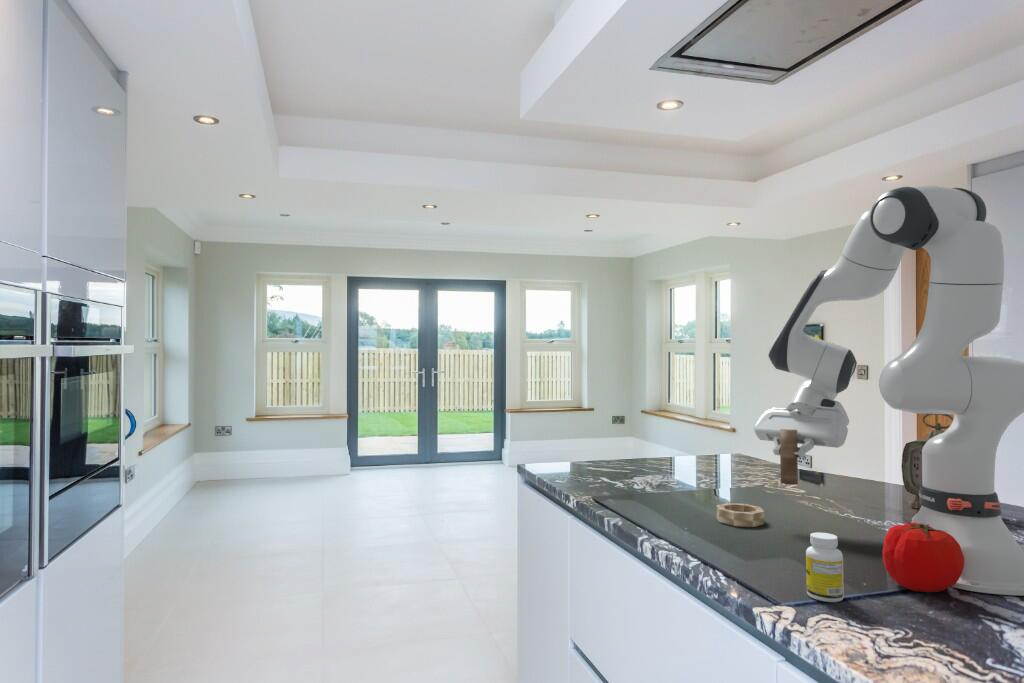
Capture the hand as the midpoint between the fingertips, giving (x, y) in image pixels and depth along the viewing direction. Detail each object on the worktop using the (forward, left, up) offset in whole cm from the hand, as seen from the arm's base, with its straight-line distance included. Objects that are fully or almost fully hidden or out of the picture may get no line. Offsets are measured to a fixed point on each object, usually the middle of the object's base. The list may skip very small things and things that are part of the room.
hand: (787, 454), depth 143 cm
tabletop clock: (+28, -42, -17) cm, 53 cm away
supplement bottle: (-42, +4, -17) cm, 46 cm away
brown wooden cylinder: (0, 0, -6) cm, 6 cm away
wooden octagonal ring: (+5, +10, -17) cm, 20 cm away
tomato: (-35, -13, -17) cm, 41 cm away
